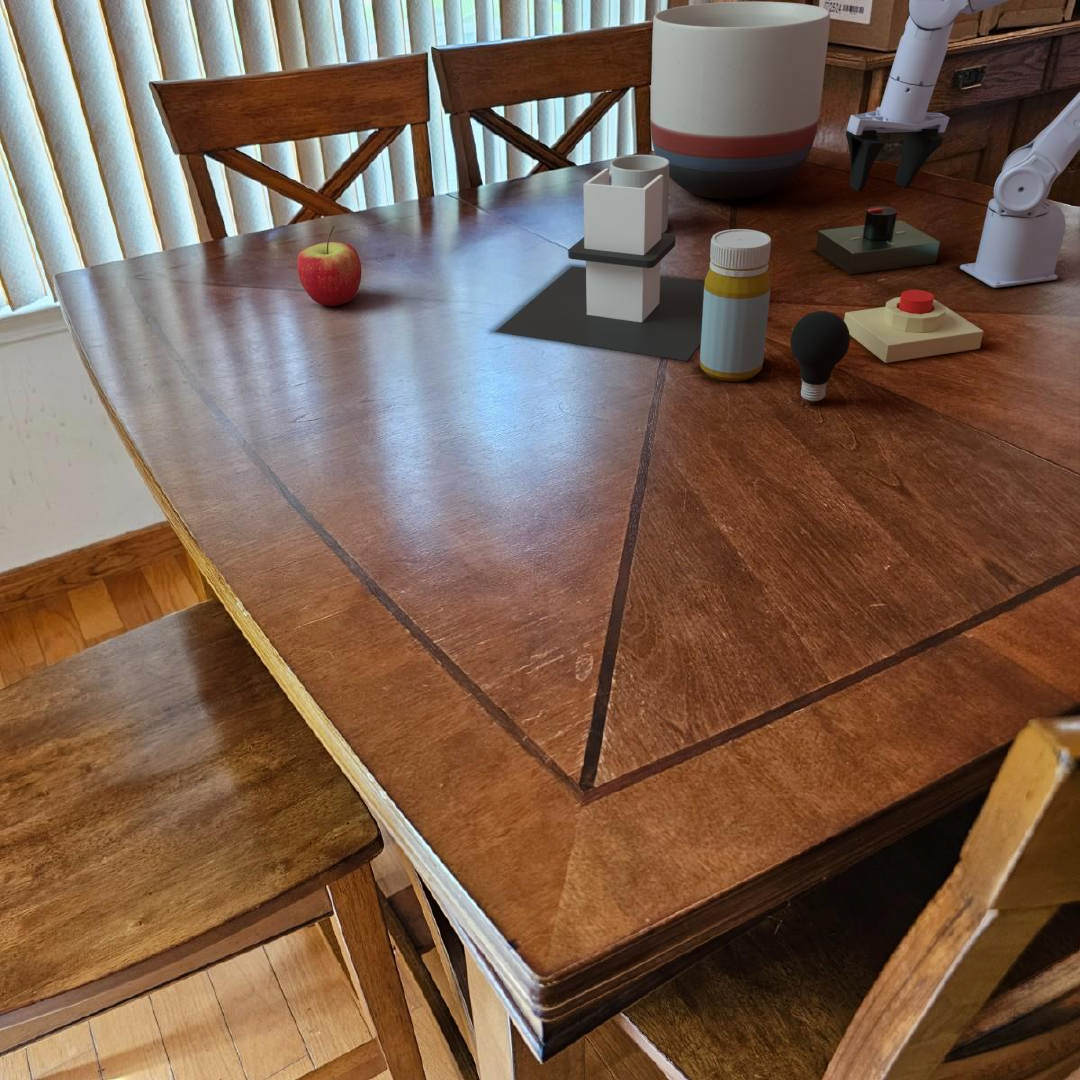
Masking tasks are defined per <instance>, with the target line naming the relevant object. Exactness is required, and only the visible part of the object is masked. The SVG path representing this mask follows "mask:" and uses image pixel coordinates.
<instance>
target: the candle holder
mask: <svg viewBox="0 0 1080 1080" xmlns="http://www.w3.org/2000/svg"><path fill="white" fill-rule="evenodd" d="M609 171H610V168H604V169H602V170H601V171H600V172H598V173H597V174H595V175H594V176H593V177H591V178H590V179H589V180H587V181H586V182H584V183H582V184H583V186H582V187H583V189H582V190H583V236H584V237H582V238H581V239H579V241H577V242H575V244H573V245H572V246H571V247H570V248H568V250H567V258H568V259H570V260H575V261H576V260H577V261H582V262H583V261H584V262H585V267H582V266H575V265H574V266H573V265H572V266H570V267H569V268H568V269H567V270H565V272H564V273H562V274H561V275H560V276H558V278H555V280H554V281H553V282H552V283H550V284H549V285H548V286H547V287H546V288H544V289H543V290H542V291H541V292H540V293H538V295H536V296H534V298H533V299H531V300H530V301H529V302H528V303H527V304H525V305H524V306H523V307H522V308H521V309H519V311H517V312H516V313H514V315H513V316H511V317H510V318H509V319H508V320H506V321H505V323H503V324H502V325H501V326H499V328H497V329H496V330H495V332H496V333H503V334H509V335H515V336H523V337H527V338H528V337H529V338H534V339H542V340H548V341H554V342H561V343H567V344H575V345H581V346H587V347H593V348H599V349H606V350H611V351H612V350H613V351H620V352H627V353H632V354H637V355H644V356H645V355H646V356H652V357H658V358H665V359H673V360H678V361H685V362H688V361H689V359H690V358H691V357H692V356H693V354H694V353H695V352H696V350H697V349H698V347H699V346H701V334H702V317H703V300H704V285H705V281H697V280H690V279H680V278H671V277H665V276H664V277H663V276H661V264H662V260H663V259H664V258H665V257H666V256H667V255H668V254H669V253H670V252H671V251H672V250H673V249H674V248H675V246H676V235H675V234H673V233H668V232H667V233H666V232H664V233H661V227H662V194H663V175H659V176H657V177H656V178H655V179H654V180H652V181H651V182H650V183H649V184H647V185H646V186H645V187H644V188H634V187H623V186H612V185H610V178H609Z"/></svg>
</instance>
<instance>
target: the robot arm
mask: <svg viewBox="0 0 1080 1080" xmlns="http://www.w3.org/2000/svg"><path fill="white" fill-rule="evenodd" d="M1007 2H1011V0H909V3H908V11H909V16H908V19H907V20H906V22H905V25H904V32H903V34H902V35H901V36H900V38H899V39H900V40H899V43H898V46H897V49H896V53H895V56H894V58H893V59H894V60H893V63H892V67H891V70H890V73H889V76H888V80H887V82H886V85H885V86H886V87H885V90H884V94H883V96H882V100H881V103H880V106H876V110H873V111H868V112H864V113H863V112H862V113H859V114H851V115H850V117H849V119H848V124H847V127H846V132H845V138H846V141H847V146H848V151H849V161H850V162H849V167H850V168H849V187H850V188H852V189H853V190H854V191H857V192H863V190H864V188H865V187H866V185H867V182H868V179H869V176H870V173H871V170H872V168H873V166H874V163H875V161H876V159H877V158H878V156H879V154H880V152H881V151H882V149H883V148H884V146H886V143H885V142H884V141H881V140H879V139H878V137H879V136H878V135H877V134H880V133H881V134H882V133H903V143H902V150H901V156H900V160H899V163H898V166H897V170H896V174H895V179H894V184H895V185H897V186H899V187H900V188H902V189H903V190H907V189H909V188H910V185H911V184H912V182H913V180H914V179H915V177H916V176H917V174H918V172H919V171H920V170H921V168H922V167H923V165H924V164H925V163H926V162H927V160H928V159H929V158H930V157H931V156H932V154H933V153H934V152H935V151H936V150H937V149H939V148H940V147H941V146H942V144H943V141H944V137H943V136H942V135H940V134H939V133H945V132H946V130H947V127H948V124H949V121H950V117H949V116H948V115H946V114H943V113H941V112H928V108H929V105H930V102H931V99H932V96H933V93H934V90H935V87H936V84H937V81H938V78H939V76H940V75H939V74H940V71H941V68H942V66H943V63H944V60H945V57H946V53H947V51H948V47H949V39H950V36H951V32H952V29H953V26H954V23H955V18H956V17H957V16H959V14H966V15H969V16H970V15H973V14H975V13H979V12H982V11H984V10H985V11H986V10H988V9H990V8H993V7H996V6H999V5H1001V4H1004V3H1007ZM1079 151H1080V91H1078V93H1077V94H1076V95H1075V97H1074V98H1073V99H1072V100H1071V101H1069V103H1068V104H1067V105H1066V106H1065V107H1064V109H1063V110H1062V111H1060V113H1059V114H1058V115H1057V116H1056V117H1055V118H1054V119H1053V120H1052V121H1051V122H1050V123H1049V124H1048V125H1047V126H1046V127H1045V128H1044V129H1042V130H1041V131H1040V132H1039V133H1038V134H1037V135H1036V136H1035V138H1034V139H1032V140H1031V141H1030V142H1029V143H1027V144H1025V145H1023V146H1020V147H1018V148H1016V149H1015V150H1014V151H1012V152H1011V153H1010V154H1009V155H1008V156H1007V157H1006V159H1005V160H1004V163H1003V165H1002V169H1001V172H1000V174H999V175H998V177H996V180H995V183H994V186H993V198H991V199H990V200H989V201H988V205H987V209H986V215H985V219H984V224H983V227H982V231H981V238H980V242H979V245H978V250H977V255H976V261H975V262H971V263H964V264H961V265H960V266H959V270H962V271H963V272H966V273H967V274H969V275H971V276H972V277H974V278H976V279H977V280H979V281H981V282H983V283H984V284H986V285H988V286H989V287H991V288H994V289H999V288H1006V287H1013V286H1019V285H1026V284H1033V283H1040V282H1048V281H1055V280H1057V279H1058V275H1057V274H1055V270H1056V267H1057V263H1058V259H1059V257H1060V256H1059V255H1060V252H1061V248H1062V245H1063V241H1064V237H1065V233H1066V218H1065V217H1066V216H1065V214H1064V212H1063V210H1062V209H1061V208H1060V206H1058V205H1057V204H1054V203H1050V202H1048V197H1049V195H1050V192H1051V188H1052V186H1053V183H1054V182H1055V180H1056V179H1057V178H1058V177H1059V176H1060V175H1061V174H1062V173H1063V172H1064V171H1065V169H1066V168H1067V166H1068V165H1069V164H1070V162H1071V161H1072V160H1073V159H1074V157H1075V155H1076V154H1077V153H1078V152H1079Z"/></svg>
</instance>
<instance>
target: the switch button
mask: <svg viewBox="0 0 1080 1080" xmlns="http://www.w3.org/2000/svg"><path fill="white" fill-rule="evenodd" d="M934 295H935V294H933V293H932V292H930V291H928V290H927V291H926V290H922V289H907V290H904V291H902V292H901V293H900V297H901V298H900V304H899V309H900V310H901V311H904V312H908V313H911V314H925V313H930V312H931V310H932V305H933V300H935V296H934Z"/></svg>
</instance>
